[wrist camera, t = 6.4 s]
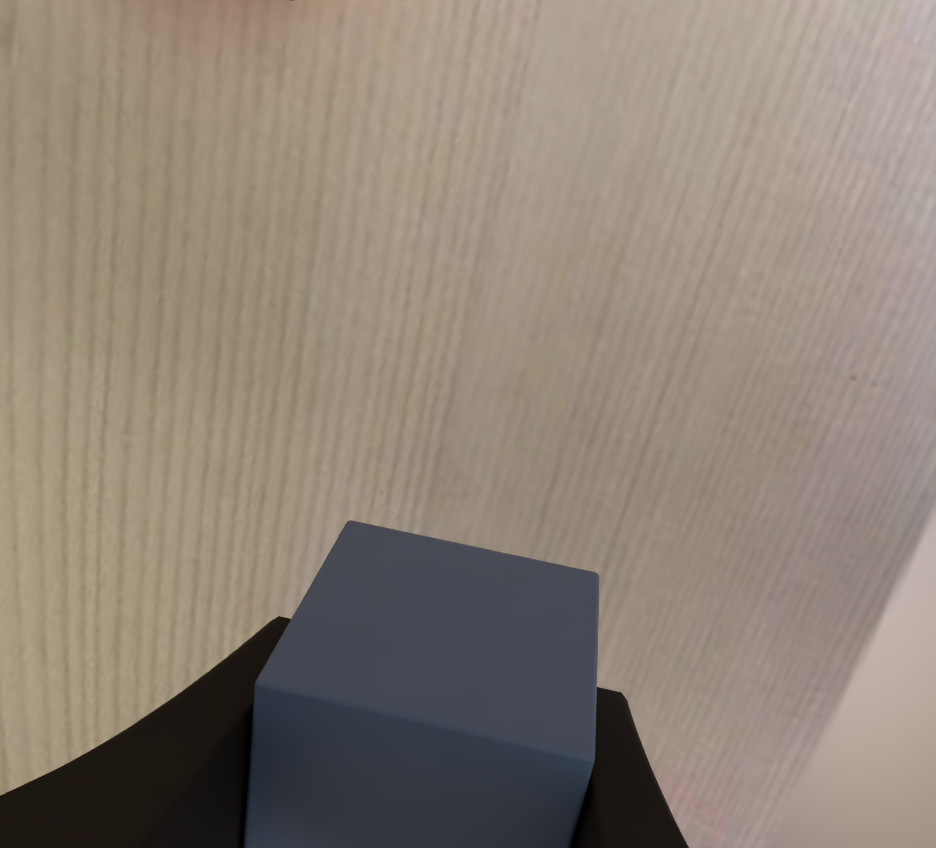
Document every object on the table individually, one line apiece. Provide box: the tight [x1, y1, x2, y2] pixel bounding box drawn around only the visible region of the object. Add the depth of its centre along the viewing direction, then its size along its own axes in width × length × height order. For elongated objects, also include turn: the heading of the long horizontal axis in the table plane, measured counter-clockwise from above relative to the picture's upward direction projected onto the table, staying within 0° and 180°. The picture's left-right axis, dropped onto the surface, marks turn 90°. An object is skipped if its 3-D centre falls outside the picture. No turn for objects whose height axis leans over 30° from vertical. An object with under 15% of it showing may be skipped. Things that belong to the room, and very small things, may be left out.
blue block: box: [243, 521, 599, 848], centre depth 13 cm, size 4×4×4 cm
